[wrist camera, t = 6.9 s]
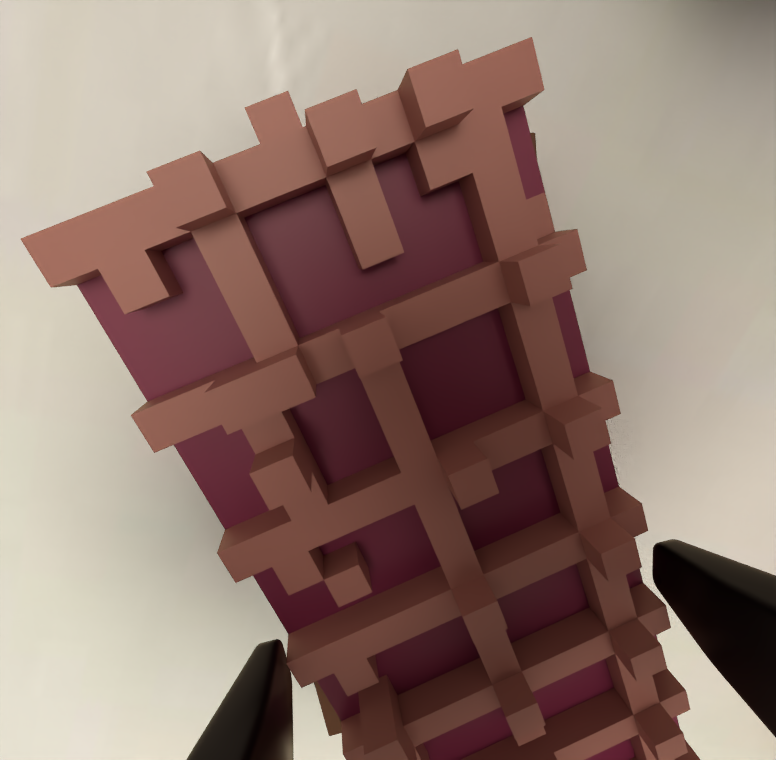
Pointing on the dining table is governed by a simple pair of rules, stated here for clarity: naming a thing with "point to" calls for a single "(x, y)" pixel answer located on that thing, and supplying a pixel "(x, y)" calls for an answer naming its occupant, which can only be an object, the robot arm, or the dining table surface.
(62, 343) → the dining table surface
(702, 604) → the robot arm
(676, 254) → the dining table surface
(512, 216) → the pink flat grid slab
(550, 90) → the dining table surface
